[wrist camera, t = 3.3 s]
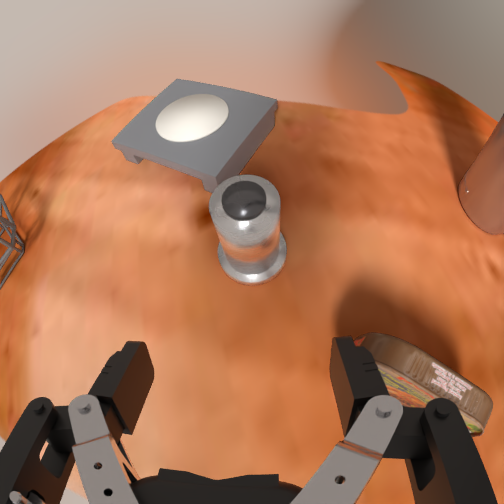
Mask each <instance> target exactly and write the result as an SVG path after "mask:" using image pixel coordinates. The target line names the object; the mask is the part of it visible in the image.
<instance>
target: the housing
mask: <svg viewBox="0 0 504 504" xmlns="http://www.w3.org/2000/svg"><path fill="white" fill-rule="evenodd" d="M209 211H210V214H211V217H212V220H213V223H214V226H215V229H216V231H217V234H218V237H219V240H220V242H219V246H218V258H219V261H220V264H221V266H222V268H223V270H224V272H225V273H226V275H227V276H228V277H229V278H231V279H232V280H234V281H235V282H237V283H240V284H243V285H248V286H255V285H261V284H264V283H267V282H269V281H271V280H272V279H274V278H275V277H276V276H277V275H278V274H279V273H280V272H281V270H282V269H283V267H284V264H285V261H286V254H287V247H286V242H285V239H284V237H283V235H282V234H281V232H280V196H279V193H278V191H277V189H276V188H275V186H274V185H273V184H272V183H270V182H269V181H268V180H266V179H264V178H262V177H259V176H255V175H238V176H234V177H231V178H229V179H227V180H225V181H223V182H222V183H221V184H220V185H219V186H217V188H216V189H215V190H214V192H213V193H212V195H211V198H210V201H209Z"/></svg>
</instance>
